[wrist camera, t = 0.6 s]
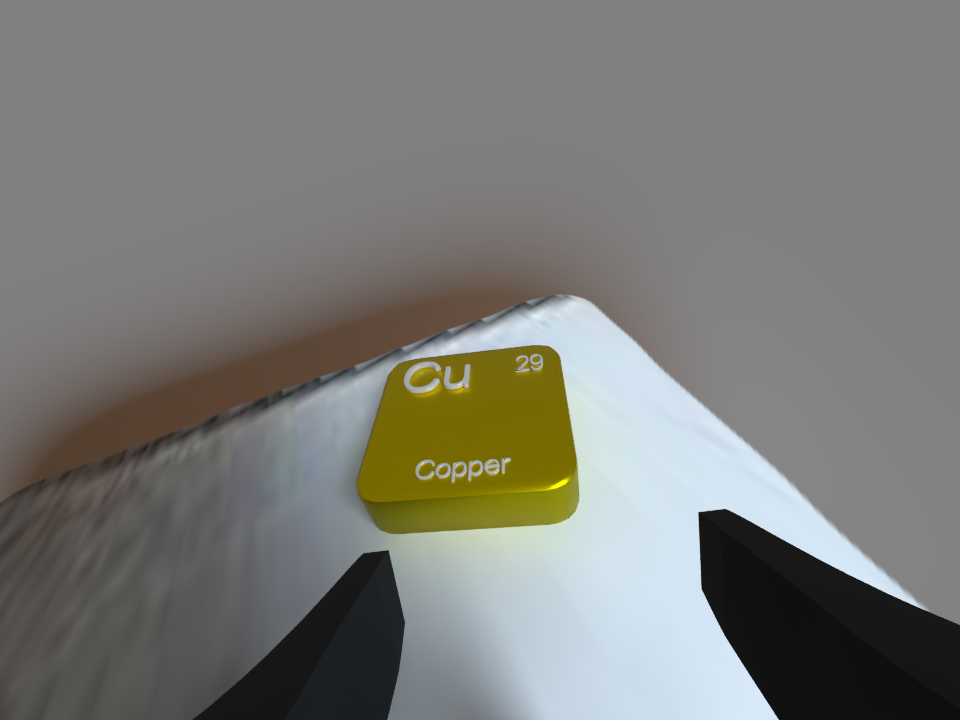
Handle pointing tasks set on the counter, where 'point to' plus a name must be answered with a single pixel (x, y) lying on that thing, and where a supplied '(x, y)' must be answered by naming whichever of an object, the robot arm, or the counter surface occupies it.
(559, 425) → the element tile
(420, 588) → the counter surface
